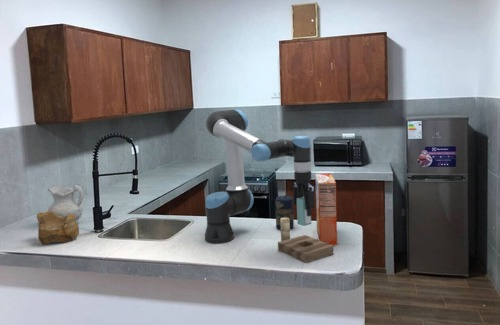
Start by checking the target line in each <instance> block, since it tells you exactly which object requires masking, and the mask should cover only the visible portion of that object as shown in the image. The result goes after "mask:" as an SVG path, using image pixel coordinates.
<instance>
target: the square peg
mask: <svg viewBox="0 0 500 325" xmlns="http://www.w3.org/2000/svg"><path fill="white" fill-rule="evenodd" d="M305 208H306V205H305V199H304V196H303V197H300V198H297V206H296V214H297V215H296V218H297V220H296V221H297V225H300V226H302V227H305V226H310V225H312V222H311V223H307V224H306V223H305Z"/></svg>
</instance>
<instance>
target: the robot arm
mask: <svg viewBox="0 0 500 325" xmlns="http://www.w3.org/2000/svg"><path fill="white" fill-rule="evenodd" d="M248 121H249V120H248V118H247V116H246V113H244V112H243V111H242V110H240V109H233V108H232V109H227V110H217V111H212V112H211V113H210V114H208V116H207V117H206V121H205V127H206V130H207V132H208V133H209V134H210V135H211V136H214V137H215V138H217V139H221V138H222V139H223V140H224V146H225V148H224V149H225V159H226V171H227V182H228V183H227V184H228V185H227V187H226V188H225V191H215V192H212V193H210V194H208V195H207V196H206V197H205V213H206V227H205V232H204V241H205V242H207V243H209V244H224V243H228V242H231V241H233V240H234V239H235V233H234V229H233V227H232V225H231V218H230V217H231V216H235V215H238V214H243V213H245V212H247V211H250V209H251V208H252V207H253V204H254V194H253V193H252V191H251V189H249V187H248V185H246V184H245V183H246V182H245V171H244V170H245V168H244V167H245V166H244V156H243V155H244V154H243V150H244V151H246V152H248V153H250V154H251V156H252V158H253V160H255V161H256V162H266V161H269V160H273V159H274V160H275V159H279V158H284V157H288V158H289V157H291V158H293V170H294V172H293V174H294V175H293V176H294V178H293V179H294V180H296V181H295V182H292V183H291V186H292V196H293V197H292V198H293V205H295V206H296V207H297V198H300V197H304V199H305V205H306V208H305V223H306V224H307V223H311V224H312V209H314V208H315V205H316V203H315V192H316V186H314V185H313V186H312V184H311V180H312V171H311V170H312V159H311V152H312V151H311V150H312V148H311V147H312V144H311V138H310V136H308V135H296V136H293V138H292V139H284V138H282V139H281V138H279V139H275V140H273V141H270V142H269V141H264V140H262V139H260V138H258V137H257V136H255V135H252V134H251V133H248V132H247V131H246V130H247V128H248V126H249V125H248V124H249V122H248Z"/></svg>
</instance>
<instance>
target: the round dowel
mask: <svg viewBox="0 0 500 325" xmlns="http://www.w3.org/2000/svg"><path fill="white" fill-rule="evenodd" d="M280 220H281V229H280V241H284V240H288V239H291V229H290V219H289V218H281V219H280Z"/></svg>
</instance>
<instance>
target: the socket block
mask: <svg viewBox="0 0 500 325" xmlns="http://www.w3.org/2000/svg"><path fill="white" fill-rule="evenodd" d="M277 251H279V252H280V253H283V254H285V255H287V256H290V257H292V258H294V259H295V260H298V261H300V262H302V263H304V264H307V263H310V262H313V261H317V260H319V259H323V258H325V257H328V256H329V257H330V256H333V255H334V245H330V244H327V243H325V242H322V241H319V239H316V238H315V237H312V236H308V235H307V234H302V235H300V236H299V235H298V236H296V237H295V236H294V237H292V238H291V237H290V239H288V240H284V241H281V240H280V241H278V242H277Z"/></svg>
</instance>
